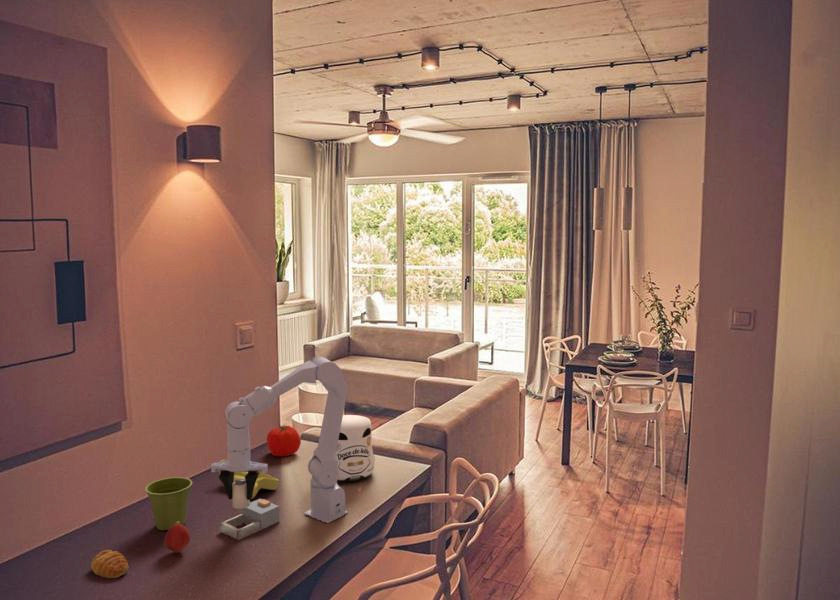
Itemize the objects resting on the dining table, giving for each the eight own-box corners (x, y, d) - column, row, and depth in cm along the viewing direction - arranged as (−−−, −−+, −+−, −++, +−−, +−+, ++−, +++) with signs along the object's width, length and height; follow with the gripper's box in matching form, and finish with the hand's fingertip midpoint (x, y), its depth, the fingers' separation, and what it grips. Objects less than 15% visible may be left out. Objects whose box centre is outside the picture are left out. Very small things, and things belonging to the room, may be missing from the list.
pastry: (137, 571, 148) (136, 555, 148) (109, 584, 142) (108, 568, 142) (115, 559, 153) (114, 544, 153) (87, 571, 148) (86, 556, 147)
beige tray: (262, 529, 168) (262, 520, 168) (238, 540, 162) (238, 531, 162) (244, 521, 173) (244, 512, 172) (220, 531, 167) (220, 522, 166)
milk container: (354, 490, 193) (353, 433, 191) (310, 479, 201) (308, 424, 199) (385, 471, 208) (384, 418, 206) (342, 462, 216) (341, 411, 214)
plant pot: (203, 518, 175) (201, 478, 174) (175, 538, 163) (173, 496, 162) (166, 513, 178) (164, 474, 177) (137, 532, 167) (134, 491, 165)
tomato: (275, 447, 231) (274, 420, 230) (306, 451, 227) (306, 423, 226) (258, 458, 221) (257, 429, 220) (290, 462, 217) (290, 433, 216)
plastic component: (282, 481, 195) (259, 477, 187) (273, 505, 193) (250, 502, 185) (240, 463, 206) (217, 458, 198) (231, 485, 204) (208, 481, 196)
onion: (164, 560, 152) (162, 528, 152) (166, 548, 158) (165, 518, 157) (189, 556, 154) (188, 525, 153) (191, 545, 160) (190, 515, 159)
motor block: (279, 521, 172) (278, 503, 172) (261, 530, 167) (260, 511, 167) (260, 513, 177) (260, 495, 176) (242, 521, 172) (242, 503, 172)
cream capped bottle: (252, 502, 169) (251, 477, 169) (246, 508, 165) (246, 483, 164) (236, 501, 169) (235, 477, 169) (230, 508, 165) (229, 483, 164)
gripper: (270, 443, 168) (272, 492, 170) (217, 442, 169) (219, 491, 171) (262, 452, 161) (263, 503, 163) (207, 451, 162) (209, 502, 164)
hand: (240, 498), depth 166 cm, fingers closed on cream capped bottle, 4 cm apart
